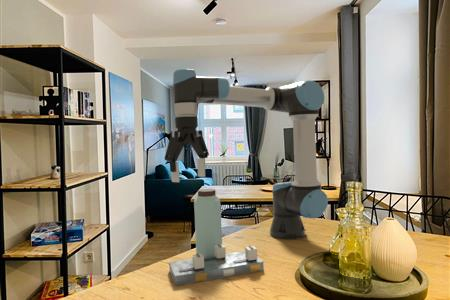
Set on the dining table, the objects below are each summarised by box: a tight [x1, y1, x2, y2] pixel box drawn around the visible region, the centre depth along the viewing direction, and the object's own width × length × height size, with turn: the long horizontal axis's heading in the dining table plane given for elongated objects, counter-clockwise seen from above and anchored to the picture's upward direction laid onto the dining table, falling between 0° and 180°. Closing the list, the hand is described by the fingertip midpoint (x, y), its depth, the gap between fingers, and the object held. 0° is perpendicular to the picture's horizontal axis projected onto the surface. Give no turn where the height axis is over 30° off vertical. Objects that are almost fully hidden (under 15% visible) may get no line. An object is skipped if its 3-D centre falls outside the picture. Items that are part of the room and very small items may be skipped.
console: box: [168, 250, 265, 287], centre depth 112 cm, size 29×12×3 cm, turn 107°
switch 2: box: [215, 243, 227, 258], centre depth 115 cm, size 3×3×4 cm
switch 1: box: [191, 253, 204, 269], centre depth 107 cm, size 3×3×4 cm
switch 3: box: [244, 245, 258, 261], centre depth 112 cm, size 3×3×4 cm
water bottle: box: [193, 188, 223, 257], centre depth 124 cm, size 10×10×25 cm
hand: (189, 179), depth 114 cm, fingers open, 13 cm apart
